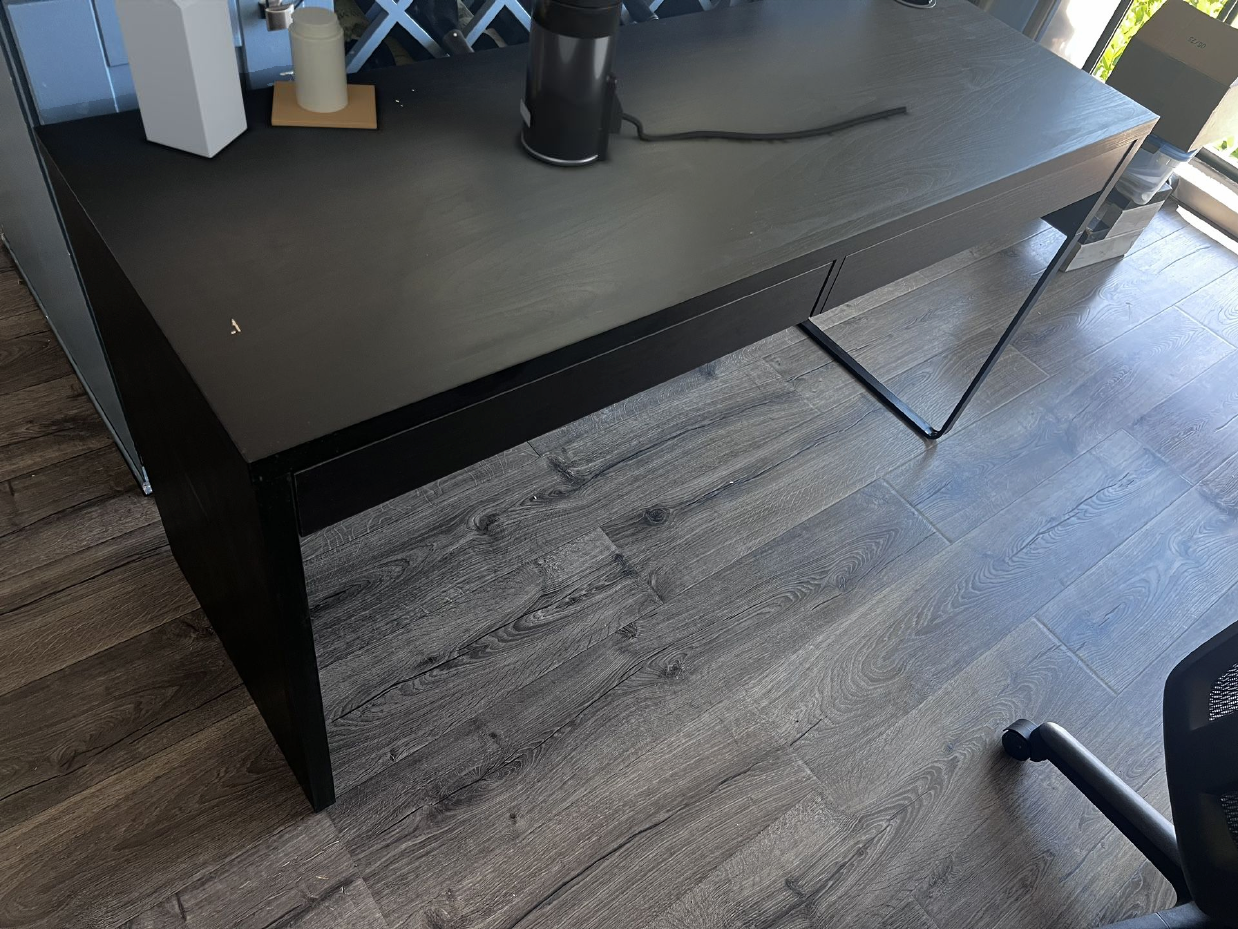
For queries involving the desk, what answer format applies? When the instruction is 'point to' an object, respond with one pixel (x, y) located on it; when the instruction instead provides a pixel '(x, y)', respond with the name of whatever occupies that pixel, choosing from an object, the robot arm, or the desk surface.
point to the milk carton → (184, 72)
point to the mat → (352, 116)
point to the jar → (318, 60)
